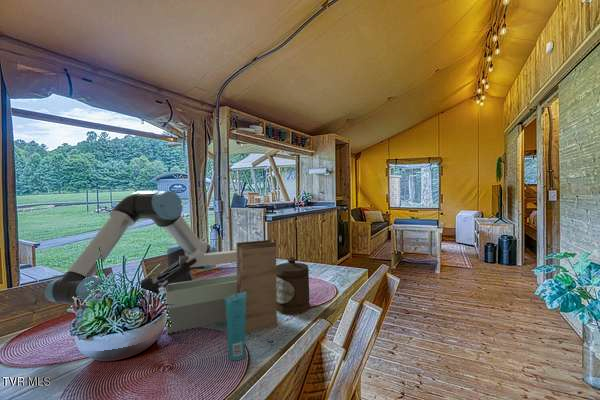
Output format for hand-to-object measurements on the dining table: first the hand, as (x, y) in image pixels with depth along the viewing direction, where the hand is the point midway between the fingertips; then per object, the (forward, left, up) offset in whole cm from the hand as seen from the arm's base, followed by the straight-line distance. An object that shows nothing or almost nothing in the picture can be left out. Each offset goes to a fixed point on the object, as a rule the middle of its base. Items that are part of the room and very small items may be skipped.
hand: (202, 253), depth 113 cm
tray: (0, +2, -27) cm, 27 cm away
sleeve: (0, +3, -5) cm, 5 cm away
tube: (+31, +4, -27) cm, 41 cm away
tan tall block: (+15, +17, -27) cm, 35 cm away
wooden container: (+6, +36, -27) cm, 46 cm away
